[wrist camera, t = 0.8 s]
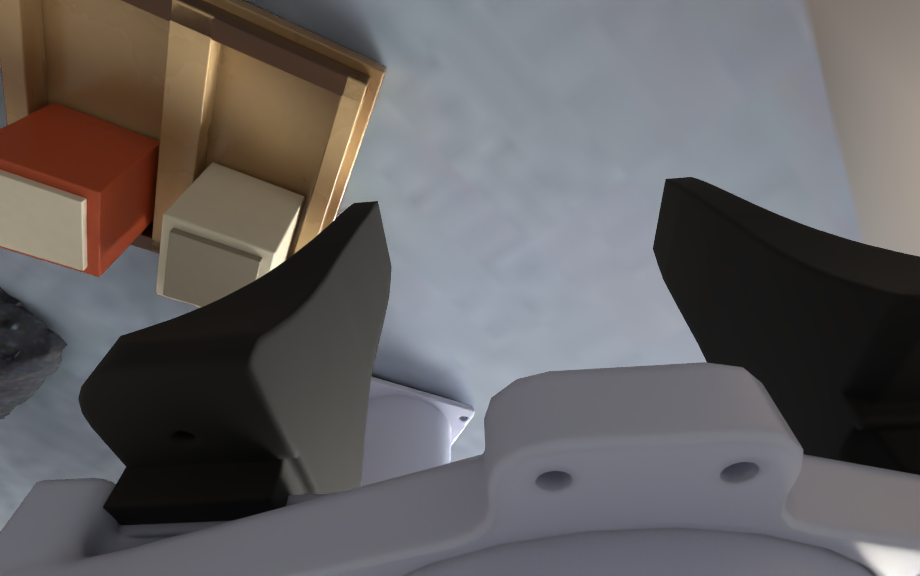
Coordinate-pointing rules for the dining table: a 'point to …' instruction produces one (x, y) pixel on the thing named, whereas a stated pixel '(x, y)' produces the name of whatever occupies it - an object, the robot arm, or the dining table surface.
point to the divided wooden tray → (199, 91)
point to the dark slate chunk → (24, 353)
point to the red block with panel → (74, 188)
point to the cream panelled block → (224, 235)
